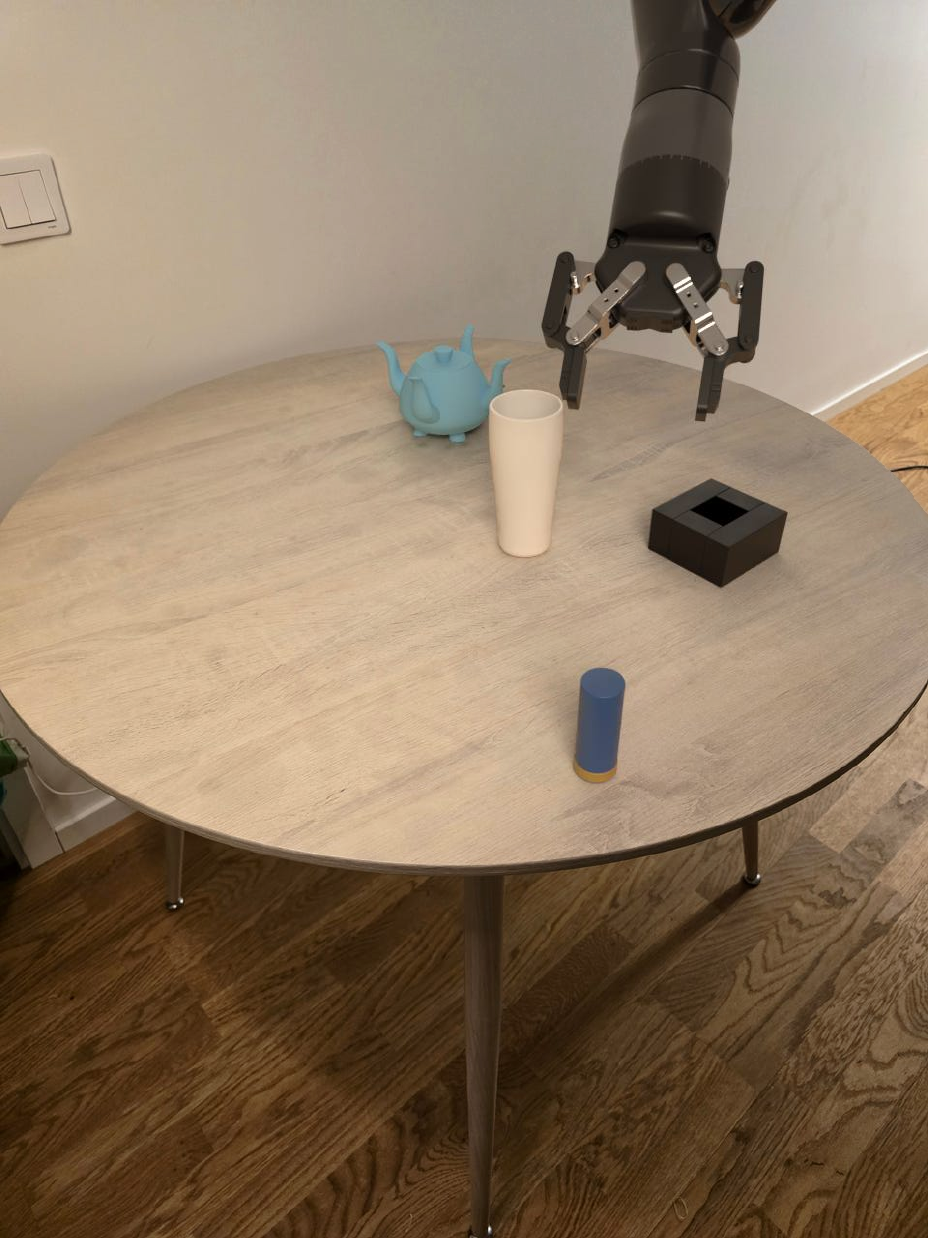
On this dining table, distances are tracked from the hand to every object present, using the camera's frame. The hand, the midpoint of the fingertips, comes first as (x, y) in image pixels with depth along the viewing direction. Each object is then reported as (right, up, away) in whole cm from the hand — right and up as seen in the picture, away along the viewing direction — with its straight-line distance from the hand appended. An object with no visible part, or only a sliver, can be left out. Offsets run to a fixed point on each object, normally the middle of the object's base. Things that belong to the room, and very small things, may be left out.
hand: (635, 411), depth 58 cm
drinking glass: (-5, -7, +28) cm, 30 cm away
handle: (-2, -25, +5) cm, 25 cm away
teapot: (-14, +10, +50) cm, 52 cm away
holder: (+13, -7, +26) cm, 30 cm away
